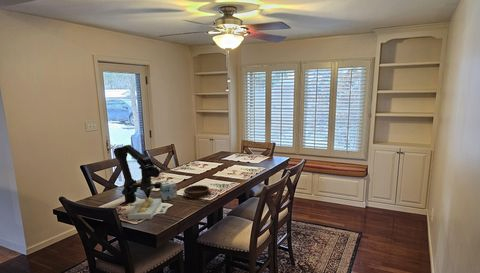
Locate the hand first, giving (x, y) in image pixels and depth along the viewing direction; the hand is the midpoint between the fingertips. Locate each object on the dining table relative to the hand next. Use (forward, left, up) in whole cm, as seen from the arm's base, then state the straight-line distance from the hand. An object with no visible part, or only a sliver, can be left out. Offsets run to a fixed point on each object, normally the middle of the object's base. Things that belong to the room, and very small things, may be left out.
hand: (148, 198), depth 197 cm
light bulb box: (+10, +15, -6) cm, 20 cm away
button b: (0, -7, -4) cm, 8 cm away
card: (+11, -7, -6) cm, 14 cm away
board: (0, -7, -6) cm, 9 cm away
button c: (0, 0, -4) cm, 4 cm away
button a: (0, -14, -6) cm, 15 cm away
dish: (+30, +18, -6) cm, 36 cm away
